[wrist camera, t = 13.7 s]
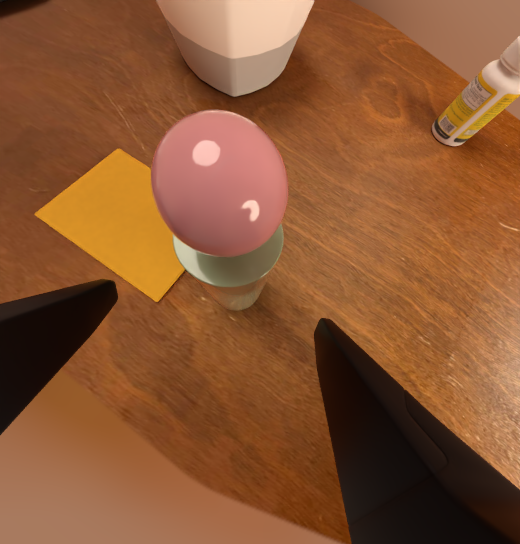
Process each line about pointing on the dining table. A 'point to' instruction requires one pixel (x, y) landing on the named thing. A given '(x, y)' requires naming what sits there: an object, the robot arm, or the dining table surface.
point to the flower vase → (222, 202)
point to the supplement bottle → (481, 99)
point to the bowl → (236, 39)
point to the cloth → (118, 223)
